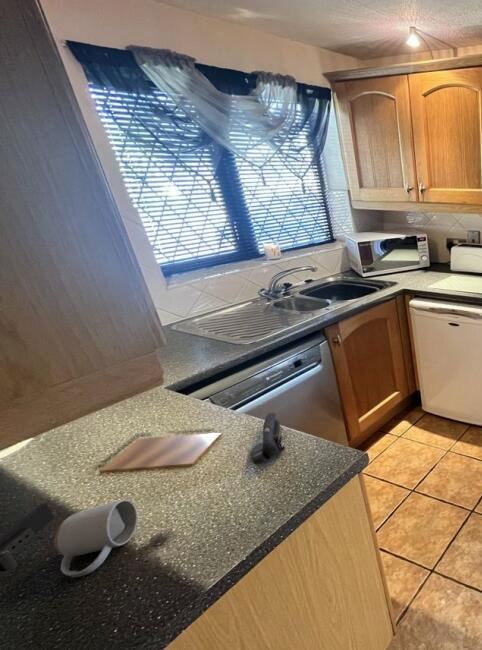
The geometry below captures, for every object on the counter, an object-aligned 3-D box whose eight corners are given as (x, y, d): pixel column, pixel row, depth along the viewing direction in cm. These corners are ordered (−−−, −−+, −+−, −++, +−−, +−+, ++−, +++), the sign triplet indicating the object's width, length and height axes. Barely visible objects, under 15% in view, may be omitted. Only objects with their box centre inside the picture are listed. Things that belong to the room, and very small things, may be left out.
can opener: (286, 460, 89) (280, 441, 87) (251, 470, 86) (244, 450, 84) (290, 418, 104) (285, 401, 102) (260, 426, 101) (255, 408, 99)
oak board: (99, 472, 87) (98, 470, 86) (139, 440, 97) (138, 438, 97) (193, 465, 88) (192, 463, 88) (222, 434, 98) (221, 432, 98)
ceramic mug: (89, 532, 72) (71, 502, 69) (143, 519, 74) (128, 490, 72) (48, 588, 63) (25, 556, 60) (111, 571, 65) (92, 539, 62)
